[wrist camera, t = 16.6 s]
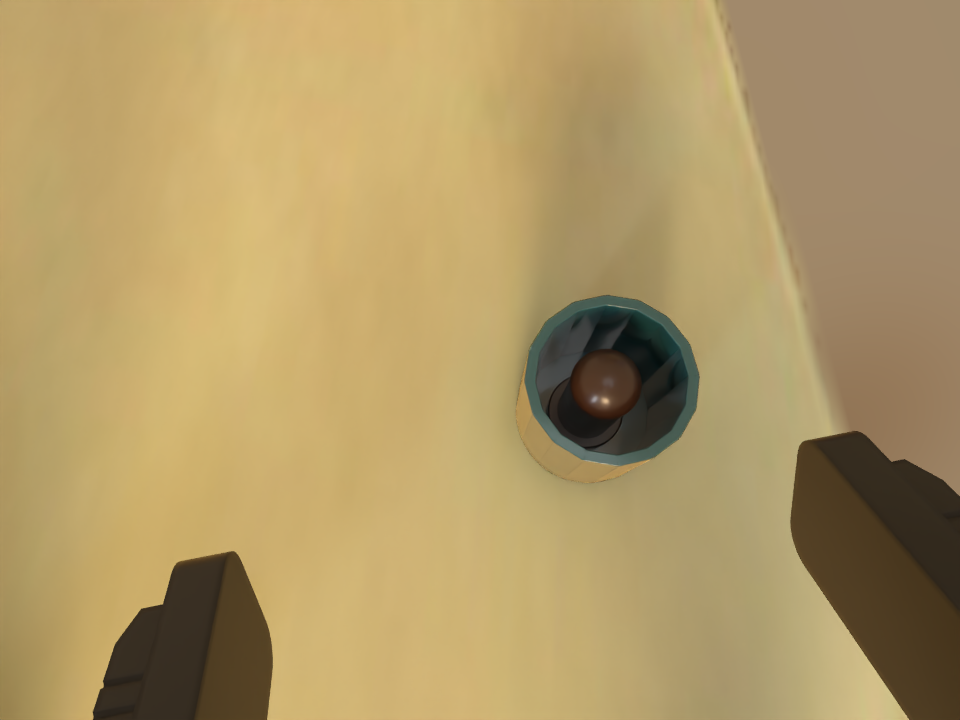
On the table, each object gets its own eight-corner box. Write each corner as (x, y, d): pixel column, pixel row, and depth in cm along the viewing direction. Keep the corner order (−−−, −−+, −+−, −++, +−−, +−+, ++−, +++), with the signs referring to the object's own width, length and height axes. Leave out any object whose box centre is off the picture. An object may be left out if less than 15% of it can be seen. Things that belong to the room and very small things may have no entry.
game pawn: (541, 443, 41) (558, 414, 33) (552, 372, 42) (571, 324, 34) (614, 456, 41) (652, 429, 32) (624, 384, 42) (662, 339, 33)
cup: (506, 470, 42) (513, 449, 33) (527, 337, 44) (539, 283, 35) (645, 493, 41) (689, 478, 33) (660, 358, 43) (706, 310, 34)
